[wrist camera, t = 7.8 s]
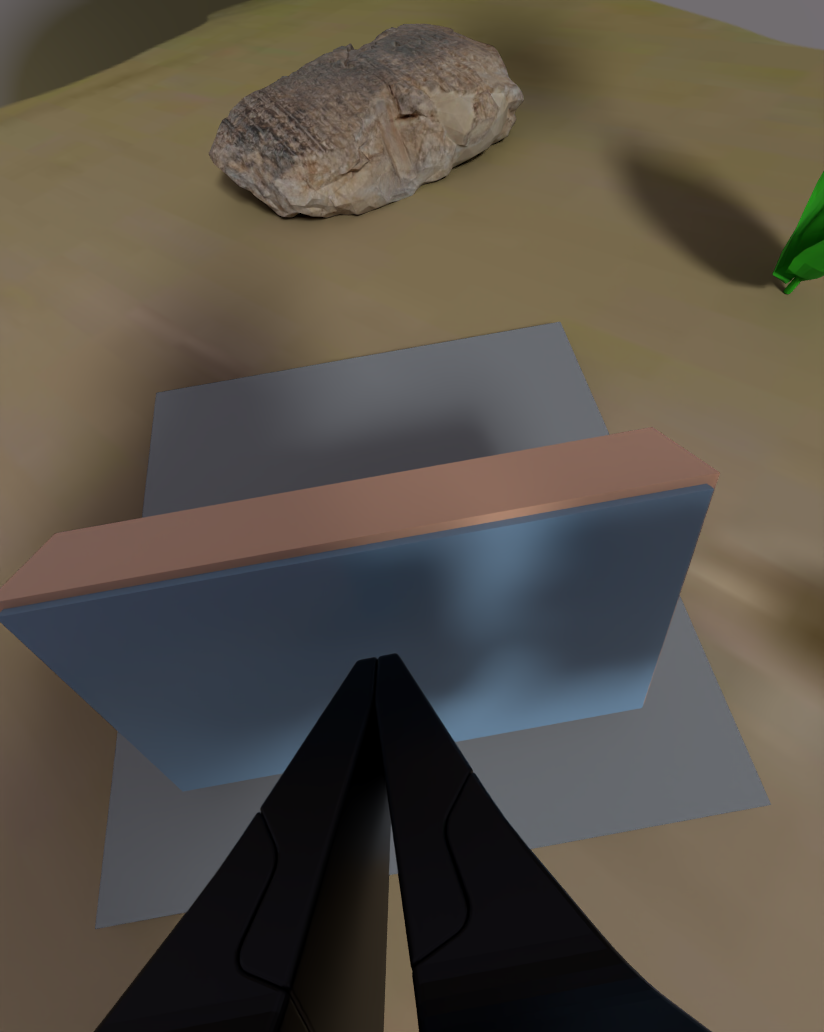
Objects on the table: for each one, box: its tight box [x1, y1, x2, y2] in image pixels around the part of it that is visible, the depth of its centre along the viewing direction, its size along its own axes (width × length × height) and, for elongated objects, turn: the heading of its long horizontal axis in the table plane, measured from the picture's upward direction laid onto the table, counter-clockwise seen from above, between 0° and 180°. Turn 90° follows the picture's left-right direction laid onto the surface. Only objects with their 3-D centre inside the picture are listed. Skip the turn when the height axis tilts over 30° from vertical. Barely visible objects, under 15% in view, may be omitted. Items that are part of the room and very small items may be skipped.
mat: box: [95, 322, 771, 929], centre depth 16 cm, size 20×20×1 cm
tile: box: [0, 427, 720, 791], centre depth 11 cm, size 2×14×8 cm
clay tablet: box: [209, 24, 524, 218], centre depth 27 cm, size 14×5×20 cm
